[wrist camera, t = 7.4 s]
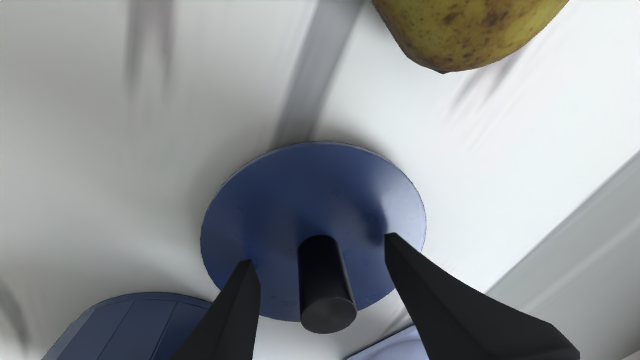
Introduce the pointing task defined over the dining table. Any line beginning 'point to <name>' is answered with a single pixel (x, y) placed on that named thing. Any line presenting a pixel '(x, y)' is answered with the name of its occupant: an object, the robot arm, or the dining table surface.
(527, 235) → the dining table surface
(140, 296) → the pot
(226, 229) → the lid
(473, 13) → the potato
